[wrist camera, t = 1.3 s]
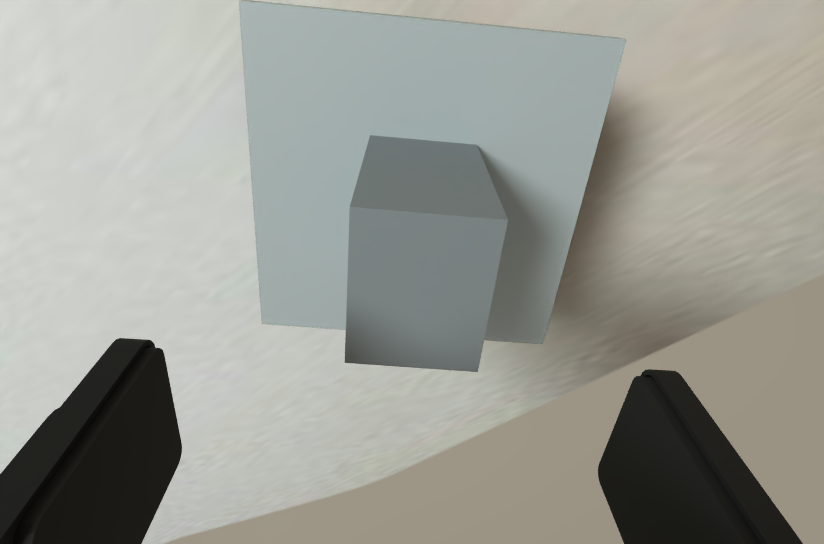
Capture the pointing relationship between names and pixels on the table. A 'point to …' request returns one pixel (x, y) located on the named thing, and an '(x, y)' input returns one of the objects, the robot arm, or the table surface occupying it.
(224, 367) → the table surface
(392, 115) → the lid
